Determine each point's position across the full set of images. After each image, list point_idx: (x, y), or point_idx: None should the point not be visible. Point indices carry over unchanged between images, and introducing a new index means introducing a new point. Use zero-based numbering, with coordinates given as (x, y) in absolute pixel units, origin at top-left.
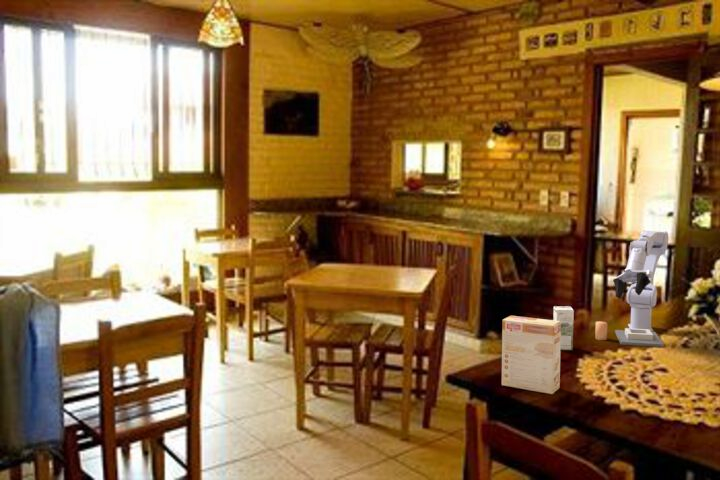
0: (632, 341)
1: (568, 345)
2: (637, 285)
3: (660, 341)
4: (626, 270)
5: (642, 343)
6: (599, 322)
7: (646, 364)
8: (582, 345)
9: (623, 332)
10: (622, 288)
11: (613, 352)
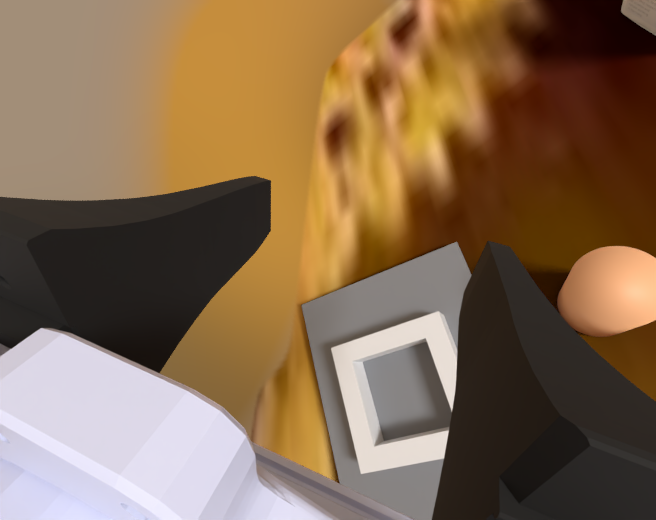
0: (412, 280)
1: None
2: (208, 189)
3: (315, 347)
4: (140, 370)
5: (371, 277)
6: (636, 284)
7: (331, 81)
8: (621, 116)
9: None
10: (462, 415)
11: (449, 119)
